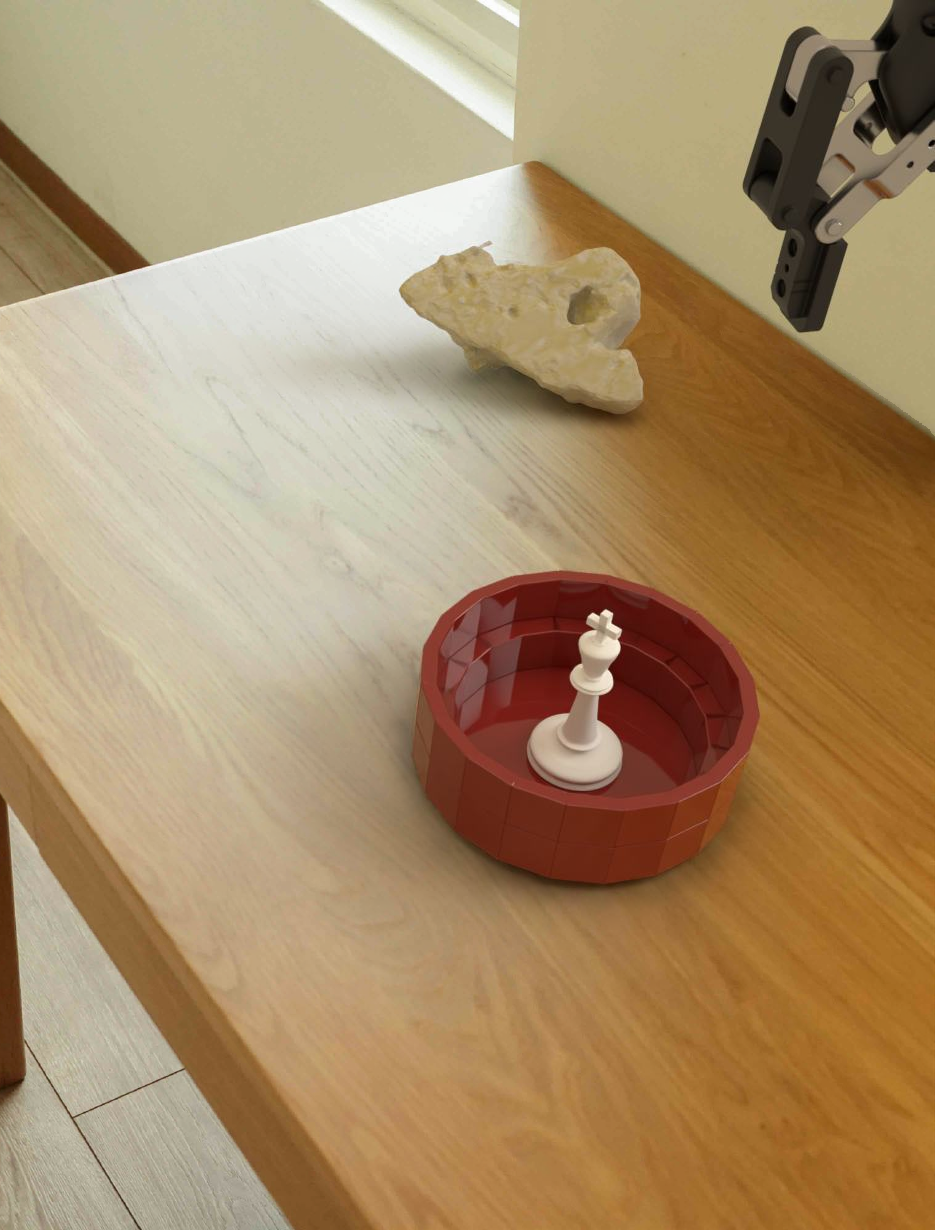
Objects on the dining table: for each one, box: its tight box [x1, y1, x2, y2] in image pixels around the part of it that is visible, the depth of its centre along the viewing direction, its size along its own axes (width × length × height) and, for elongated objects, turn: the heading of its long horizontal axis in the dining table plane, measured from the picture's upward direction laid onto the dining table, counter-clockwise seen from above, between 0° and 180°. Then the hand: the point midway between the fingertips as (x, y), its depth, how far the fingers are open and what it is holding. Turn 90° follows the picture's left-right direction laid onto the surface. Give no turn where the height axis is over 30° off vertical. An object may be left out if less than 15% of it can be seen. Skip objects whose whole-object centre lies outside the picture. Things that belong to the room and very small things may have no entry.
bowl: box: [411, 569, 761, 884], centre depth 78 cm, size 17×17×6 cm
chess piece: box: [527, 609, 622, 791], centre depth 76 cm, size 5×5×10 cm
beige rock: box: [398, 240, 644, 415], centre depth 105 cm, size 15×7×15 cm
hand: (903, 311), depth 57 cm, fingers open, 8 cm apart
